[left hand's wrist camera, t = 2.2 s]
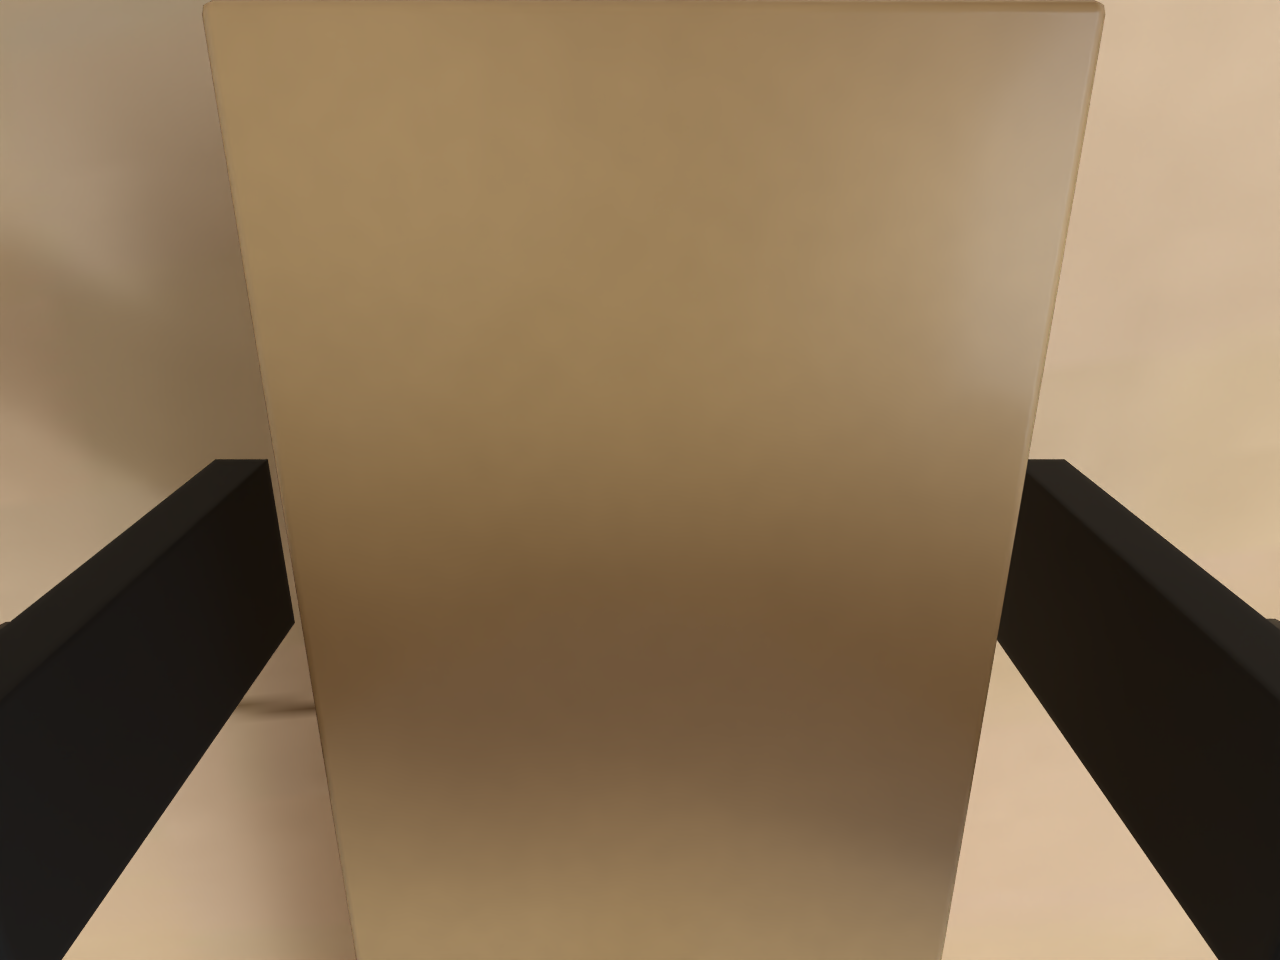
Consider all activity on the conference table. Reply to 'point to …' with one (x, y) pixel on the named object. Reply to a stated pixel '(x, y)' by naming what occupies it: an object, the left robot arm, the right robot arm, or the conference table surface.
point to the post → (651, 445)
